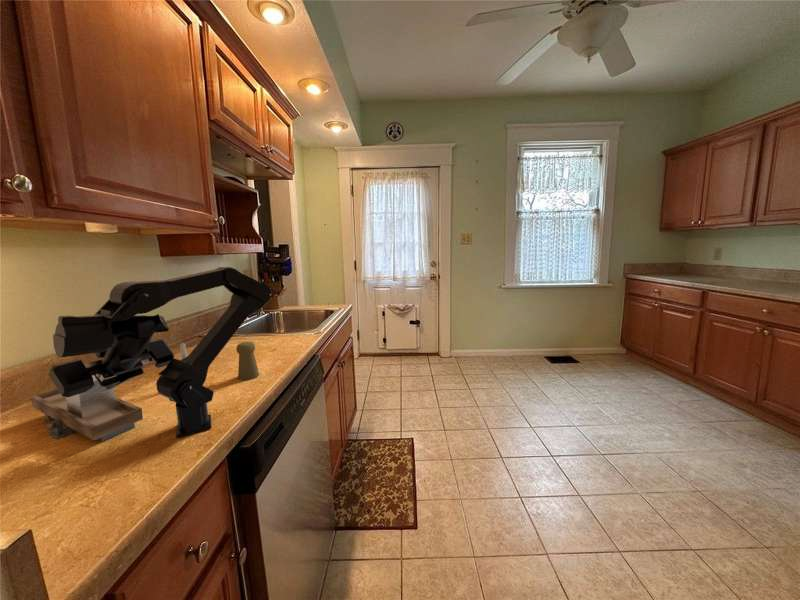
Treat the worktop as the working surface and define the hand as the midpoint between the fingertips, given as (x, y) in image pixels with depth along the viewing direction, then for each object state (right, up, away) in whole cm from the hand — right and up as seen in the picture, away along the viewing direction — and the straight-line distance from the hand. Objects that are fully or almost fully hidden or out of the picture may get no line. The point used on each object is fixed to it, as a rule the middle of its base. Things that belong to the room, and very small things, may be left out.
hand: (108, 387), depth 68 cm
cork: (+15, -5, +32) cm, 36 cm away
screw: (0, -7, +26) cm, 27 cm away
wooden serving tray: (-10, -7, +6) cm, 14 cm away
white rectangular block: (-7, -6, +4) cm, 11 cm away
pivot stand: (-10, -10, +6) cm, 15 cm away
